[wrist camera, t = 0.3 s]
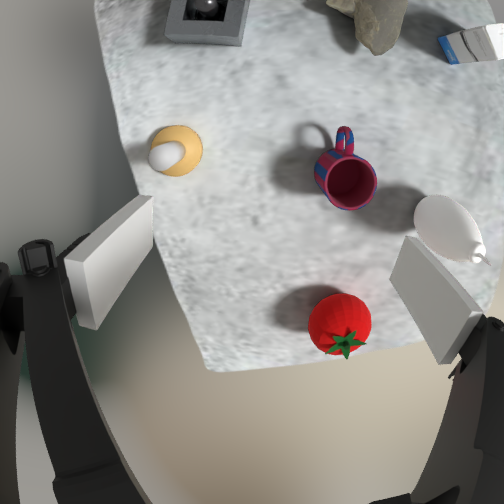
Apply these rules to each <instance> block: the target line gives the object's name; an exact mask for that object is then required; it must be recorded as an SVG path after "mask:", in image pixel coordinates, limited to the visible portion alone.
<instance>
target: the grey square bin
mask: <svg viewBox="0 0 504 504" xmlns="http://www.w3.org/2000/svg"><path fill="white" fill-rule="evenodd" d="M216 1H221V2H228V4H227V8H226V13H225V18H224V22H222V21H194V17H195V12H196V6H195V5H194V0H171V4H170V8H169V13H168V17H167V22H166V26H165V31H164V35H165V36H166V37H168V38H169V39H170V40H172V41H173V42H174V43H200V44H219V45H232V46H241V44H242V39H243V33H244V28H245V23H246V18H247V12H248V7H249V2H250V0H216Z"/></svg>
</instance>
